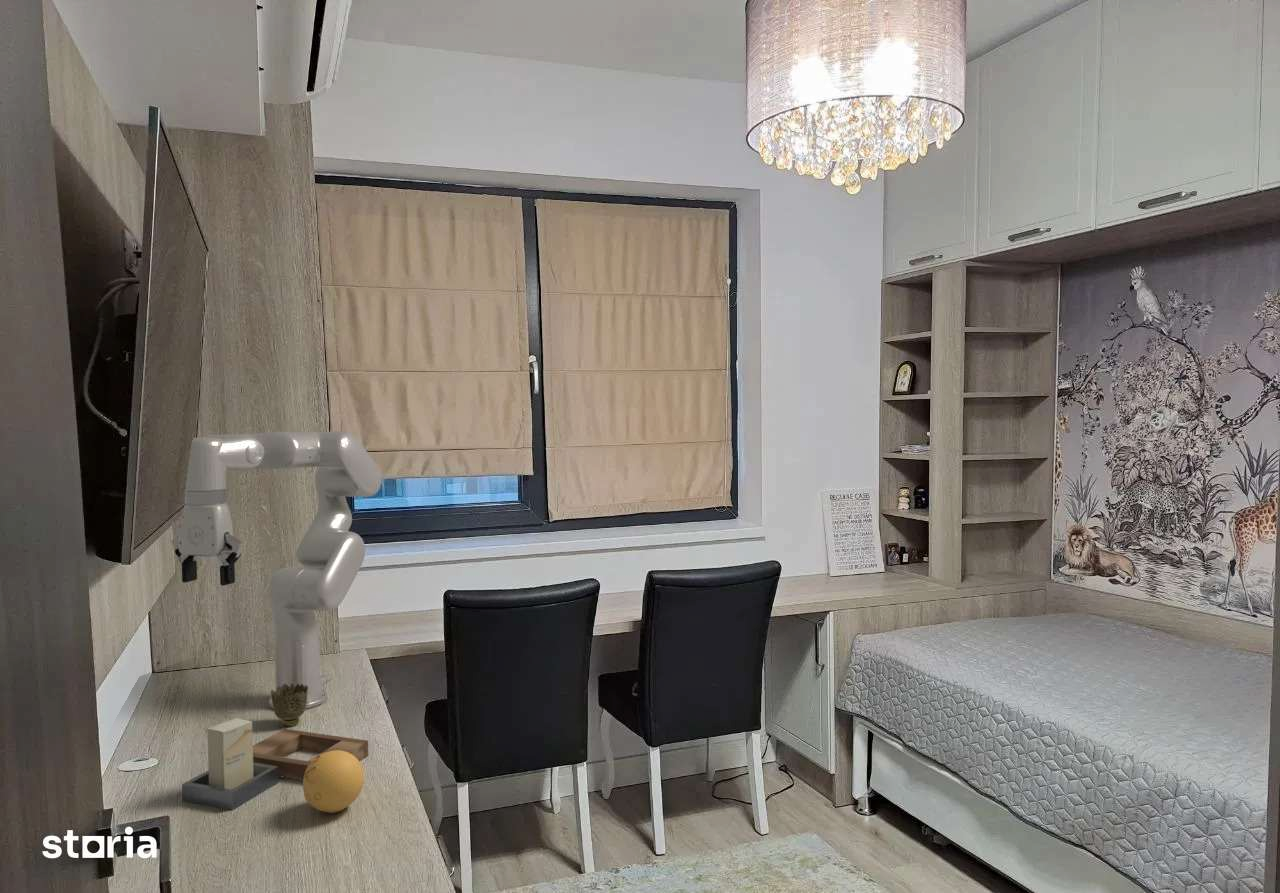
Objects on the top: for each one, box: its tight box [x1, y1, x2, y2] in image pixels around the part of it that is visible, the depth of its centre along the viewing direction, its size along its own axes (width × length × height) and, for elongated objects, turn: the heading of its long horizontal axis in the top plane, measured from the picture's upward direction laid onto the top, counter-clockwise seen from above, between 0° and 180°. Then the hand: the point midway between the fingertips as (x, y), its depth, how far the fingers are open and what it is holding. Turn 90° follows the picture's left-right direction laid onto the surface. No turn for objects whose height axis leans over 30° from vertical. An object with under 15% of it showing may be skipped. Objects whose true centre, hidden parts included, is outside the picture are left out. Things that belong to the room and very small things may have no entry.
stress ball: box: [302, 750, 365, 814], centre depth 144 cm, size 10×10×10 cm
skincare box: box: [207, 717, 254, 790], centre depth 151 cm, size 6×4×12 cm
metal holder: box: [181, 763, 280, 811], centre depth 151 cm, size 11×11×3 cm
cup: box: [270, 683, 308, 727], centre depth 182 cm, size 8×7×8 cm
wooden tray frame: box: [253, 728, 369, 781], centre depth 163 cm, size 13×20×3 cm, turn 72°
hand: (208, 582), depth 171 cm, fingers open, 9 cm apart
